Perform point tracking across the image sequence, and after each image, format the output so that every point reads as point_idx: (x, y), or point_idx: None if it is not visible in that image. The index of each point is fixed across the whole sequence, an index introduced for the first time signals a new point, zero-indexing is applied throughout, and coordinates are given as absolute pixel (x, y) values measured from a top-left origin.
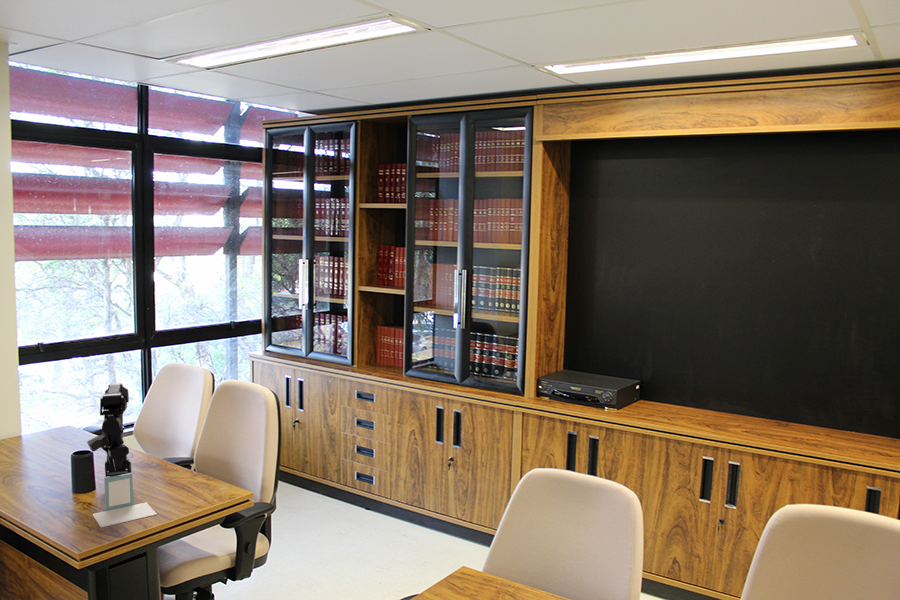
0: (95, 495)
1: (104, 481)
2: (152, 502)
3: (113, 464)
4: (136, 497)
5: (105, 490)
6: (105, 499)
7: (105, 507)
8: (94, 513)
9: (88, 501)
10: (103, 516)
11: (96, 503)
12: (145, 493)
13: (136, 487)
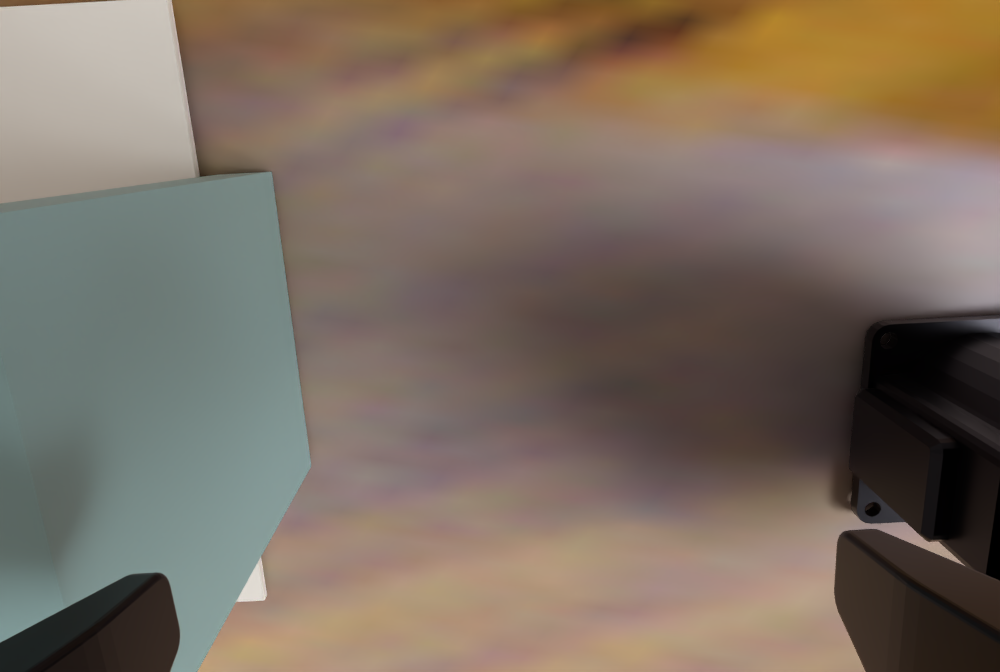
0: (936, 139)
1: (26, 208)
2: (273, 642)
3: (844, 615)
4: (533, 537)
5: (66, 196)
6: (181, 182)
7: (248, 174)
8: (170, 23)
9: (757, 23)
10: (1, 112)
11: (609, 108)
12: (607, 633)
13: None
